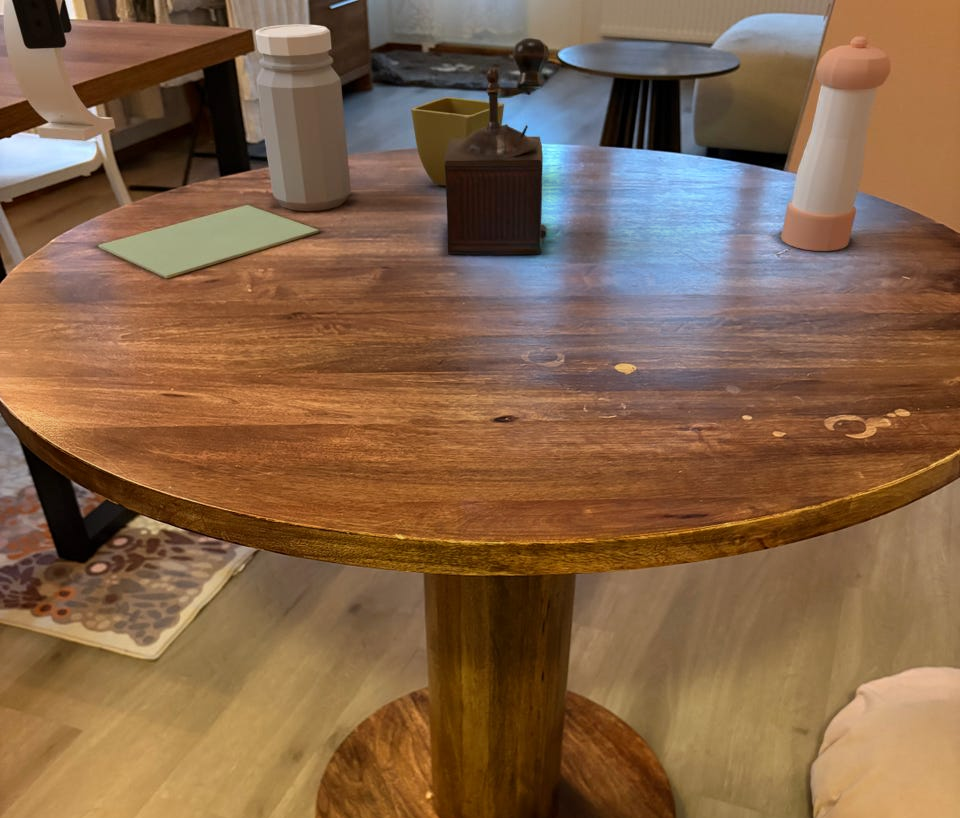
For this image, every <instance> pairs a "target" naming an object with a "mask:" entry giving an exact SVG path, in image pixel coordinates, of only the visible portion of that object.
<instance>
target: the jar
mask: <svg viewBox="0 0 960 818" xmlns="http://www.w3.org/2000/svg"><path fill="white" fill-rule="evenodd" d="M254 32H255V41H256V47H257V51H258V53H260V54H261V56H262V58H260V59H259V60H258V63H259V65H260V67H261V69H260V71H259V73H258V75H257V77H256V79H255V82H256V88H257V96H258V103H259V110H260V116H261V117H260V118H261V124H262V130H263V137H264V144H265V151H266V157H267V164H268V171H269V179H270V185H271V193H272V195H273V198H274V199H275V201H276V202H277V203H279V205H280V206H281V207H282V208H285V209H287V210H291V211H300V212H317V211H325V210H329V209H333V208H337V207H340V206H341V205H342V204H343V203H345V202H346V201H347V199H348V197H349V196H350V194H351V192H352V185H351V177H350V176H351V175H350V164H349V154H348V143H347V133H346V122H345V111H344V101H343V92H342V91H343V90H342V79H341V78H340V76H339V75H338V73H337V72H336V71H335V70H334V68H333V67H332V66H331V65H332V64H333V63H334V58H332V57H331V56H330V55H329V51H330V50H332V37H331V31H330V29H329V28H328V27H327V26H324V25H318V24H302V23H297V24H295V23H294V24H293V23H291V24H279V25H278V24H277V25H271V26H270V25H269V26H264V27H261V28H258V29H256V31H254Z"/></svg>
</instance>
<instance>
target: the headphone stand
mask: <svg viewBox="0 0 960 818" xmlns="http://www.w3.org/2000/svg"><path fill="white" fill-rule="evenodd" d="M3 3H4V4H3V15H2V17H3V20H2V21H3V35H4V41H5V47H6V51H7V57H8V60H9V63H10V67H11V69H12V72H13V74H14V77H15V80H16V82H17V84H18V86H19V88H20V90H21V92H22V94H23V95H24V97H25V99H26V100H27V102H28V103H29V105H30V106H31V107H32V108H33V109H34V111H35V112H36V113H37V114H38V115H39V116H40V117H41V118H42V119H44V120H45V121H46V122H47V123H45V124H42V125H39V126H37V127H36V129H37V133H38V137H39V138H40V139H49V140H50V139H52V140H62V141H63V140H64V141H65V140H67V141H77V142H79V141H81V142H87V141H89V140H91V139H93V138H95V137H98V136H100V135H103V134H105V133H108V132H109V131H111V130H114V129H116V125H115V120H114V117H109V116H97V115H96V114H94V113H93V112H92V111H90V110H89V109H88V108H87V107H86V105H84V103H83V102H82V100H81V99H80V97H79V96H78V94H77V92H76V91H75V89H74V87H73V85H72V81H71V79H70V76H69V74H68V71H67V68H66V65H65V61H64V57H63V51H62V48H43V49H28V48H27V47H26V46H25V45H24V42H23V38H22V34H21V31H20V27H19V24H18V20H17V16H16V13H15V9H14V6H13V2H12V0H4V2H3ZM56 3H57V7H58V11H59V15H60V9H61V4H62V0H56Z"/></svg>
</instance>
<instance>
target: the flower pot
mask: <svg viewBox="0 0 960 818" xmlns="http://www.w3.org/2000/svg"><path fill="white" fill-rule="evenodd" d="M504 110H505V103H503V102H498V121H499V123H500V126H502V125H503V119H504V118H503V117H504ZM410 112H411V119H412V125H413V131H414V137H415V144H416V148H417V153H418V157H419V159H420V161H421V162H420V163H421V165H422V166H423V168H424V171H425V172H426V174H427V176H428V177H429V179H430V180H431V182H432V183H433V184H434V185H436V186H445V187H446V175H445V155H446V151H447V148H448V143H449V139H450V138H467V137H468V136H469V135H470V134H471V133H473V132H475V131H477V130H479V129H481V128H483V127H487V125H488V122H489V100H487V101H486V100H479V99H470V98H460V97H459V98H458V97H453V96H446V97H442V98H438V99H435V100H432V101H430V102H426V103H423V104H421V105H417V106H414V107H412V108H411V109H410Z"/></svg>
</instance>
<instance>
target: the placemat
mask: <svg viewBox="0 0 960 818" xmlns="http://www.w3.org/2000/svg"><path fill="white" fill-rule="evenodd" d="M319 232H320V230H319V229H317V228H314V227H312V226H309V225H306V224H303V223H300V222H297V221H294V220H292V219H289V218H286V217H283V216H280V215H278V214H274V213H272V212H268V211H266V210H264V209H260V208H258V207H255V206H252V205H249V204H245V205H242V206H237V207H234V208H231V209H227V210H223V211H219V212H215V213H211V214H207V215H204V216H201V217H197V218H193V219H189V220H185V221H182V222H178V223H174V224H170V225H167V226H163V227H160V228H156V229H152V230H149V231H145V232H144V231H143V232H141V233H138V234H137V233H136V234H133V235H130V236H126V237H122V238H119V239H115V240H112V241H108V242H103V243H100V244H98V246H97V247H98V248H99V249H101V250H103V251H105V252H108V253H110V254H111V255H115V256H117V257H119V258H120V259H123V260H125V261H127V262H130V263H131V264H134V265H136V266H138V267H141V268H142V269H145V270H147V271H149V272H151V273H154V274H156V275H158V276H160V277H163V278H164V279H170V278H173V277H177V276H180V275H185V274H188V273H190V272H193V271H197V270H201V269H203V268H206V267H210V266H213V265H217V264H220V263H223V262H227V261H229V260H232V259H236V258H240V257H242V256H246V255H249V254H252V253H256V252H260V251H262V250H263V251H264V250H265V249H269V248H272V247H276V246H279V245H282V244H286V243H290V242H292V241H295V240H298V239H302V238H306V237H308V236H312V235H315V234H318V233H319Z"/></svg>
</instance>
